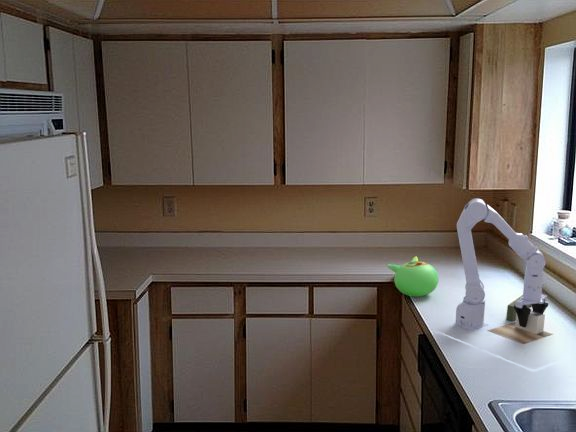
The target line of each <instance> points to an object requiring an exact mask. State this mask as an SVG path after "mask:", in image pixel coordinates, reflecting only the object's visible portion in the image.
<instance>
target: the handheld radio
mask: <svg viewBox="0 0 576 432" xmlns="http://www.w3.org/2000/svg"><path fill="white" fill-rule="evenodd" d="M522 297H523V294H522V295H521V296H519V297H517V298H516V299H515V300H513V301H512V302H510V303H508V304H507V307H506V316H505V320H506V321H509V322H516V311H515V309H514V305H515V304H516V301H518V300H519V299H521V298H522ZM526 307H527V308H529V309H531V307H532V304H531V305H527V306H526Z"/></svg>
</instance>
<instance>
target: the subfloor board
mask: <svg viewBox="0 0 576 432" xmlns="http://www.w3.org/2000/svg"><path fill="white" fill-rule="evenodd" d="M515 326H516V321H513V322H510V323H507V324H503V325H502V326H497V327H494V328H491V329H487V330H486V331H487V332H490V333H493V334H495V335H498V336H501V337H503V338H505V339H506V338H507V339H509V340H511V341H514V342H516V343H519V344H522V345H526V344H529V343H532V342H535V341H537V340H540V339H543V338H546V337H550V336H553V335H554V333H551V332H548V331H545V330H543V332H541V333H538V334H534V333H531V332H528V331H526V330H523V329H520V328H517V327H515Z"/></svg>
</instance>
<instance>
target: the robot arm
mask: <svg viewBox="0 0 576 432" xmlns="http://www.w3.org/2000/svg"><path fill="white" fill-rule="evenodd" d="M482 220H483V222H485V223H489V224H492V225H494V227H496V229H498V231H500V233H501V234H503V235H504V237H506V238H507V239H508V245H509V247H510V248H511V249H512V250H513V251H514V253H516V254H517V255H518V256H519V257H520V258H521V259H523V260H524V261H525V263H526V264H525V271H524V278H523V289H522V290H523V291H522V295H523V297H522V298H521V299H519V300H518V301H516V304H515V305H514V309H515V311H516V313H517V316H518V320H519V325H520V326H521V327H524V328H525V327H526V326H527V321H528V317H529V314H530V312H531V311H535V312H538V313H541V314H544V313H545V311H546V309H547V308H548V307H549V303H548V302H547V301H548V295H546V294H543V293H542V290H543V280H544V268H545V266H546V264H547V262H546V258H545V256H544V254H543V253H542V251H541V250H540V249H539V247H538V246H537V245H536V246H535V245H534V244H533V243H532V242H531V241H530V240H529V236H528V235H526V234H525V235H524V233H521V232H520V233H519V232H516V231H515V229H513V228H512V227H511V226H510V225H509V224H508V223H507V221H506V220H505V219H504V218H503V217H502V215H500V214H499V213H498V212H497V211H496V210H495V209H494V208H493V207H491V206H490V205H489V204H486V202H485V201H484V200H483V199H481V198H472V199H471V200H469V201H468V203H466V205H464V208H463V210H462V211H461V214H460V216H459V218H458V219H457V222H456V230H457V231H456V232H457V236H458V242H459V248H460V253H461V257H462V258H461V260H462V264H463V270H464V275H465V282H466V283H465V286H464V287H465V289H464V290H465V296H463V299H462V302H460V303H459V304H458V305H457V306H456V310H455V311H456V312H455V322H453V325H456V326H459V327H461V328H464V329H466V330H469V331H474V330H478V329H481V328H484V327H488V326H489V324H488V323H485V309H486V308H485V307H486V299H485V297H486V293H485V290H484V289H485V286H484V283H483V282H482V281H481V279H480V273H479V270H478V268H479V267H478V262H477V256H476V251H475V246H474V240H473V234H472V229H473V228H475V226H476V224H477V223H479V222H481V221H482ZM531 304H532V305H531ZM527 305H531V308H532V309H531V308H530V309H529V308H527V307H526V306H527Z"/></svg>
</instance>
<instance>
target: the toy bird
mask: <svg viewBox="0 0 576 432" xmlns="http://www.w3.org/2000/svg"><path fill="white" fill-rule="evenodd" d="M386 267H387V268H388V269H389V270H391V271H392V272H394V273H395V274H394V279H393V281H394V284H395V287H396V289H397V290H398V291H399V292H400V293H402V294H403V295H406V296H407V297H408V296H409V297H415V298H417V297H419V298H420V297H424V296H427V295H429V294H432V292H434V291H435V290H436V288H437V287H438V285H439V274H438V271H437V270H436V269H435V267H434V266H432V265H431V264H429V263H427V262H425V261H419V258H418V256H417V255H416V256H414V257H412V260H410V261H409V262H406V263H404V264H402V265H399V264H398V265H397V264H391V263H389V264H387V265H386Z"/></svg>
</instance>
